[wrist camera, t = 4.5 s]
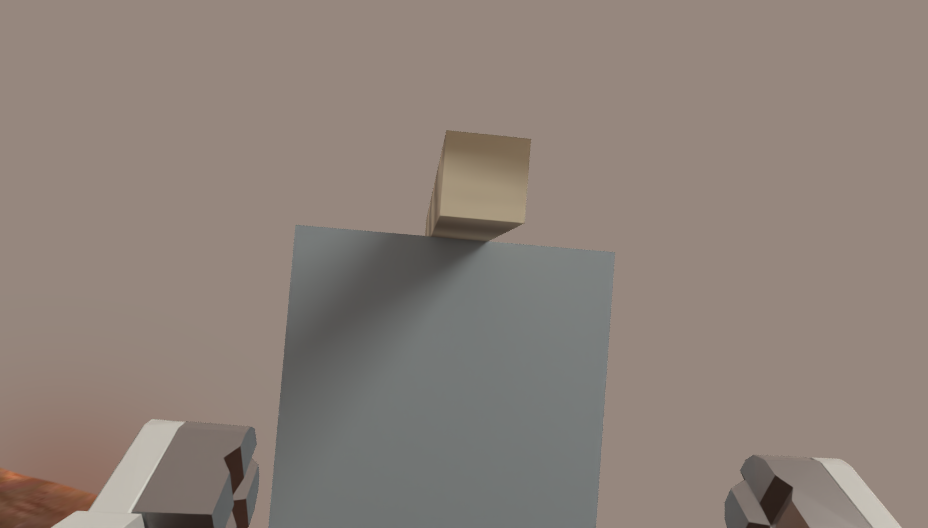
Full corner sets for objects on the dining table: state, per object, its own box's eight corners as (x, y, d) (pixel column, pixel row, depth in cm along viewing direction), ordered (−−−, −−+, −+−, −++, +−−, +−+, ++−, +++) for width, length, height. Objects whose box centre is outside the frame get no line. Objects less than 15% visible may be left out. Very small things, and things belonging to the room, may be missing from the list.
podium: (573, 852, 24) (614, 252, 25) (239, 857, 23) (295, 224, 23) (519, 661, 36) (549, 260, 37) (299, 657, 35) (335, 243, 35)
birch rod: (524, 223, 16) (531, 138, 16) (439, 215, 16) (446, 130, 16) (458, 256, 40) (460, 222, 40) (423, 253, 40) (426, 218, 40)
